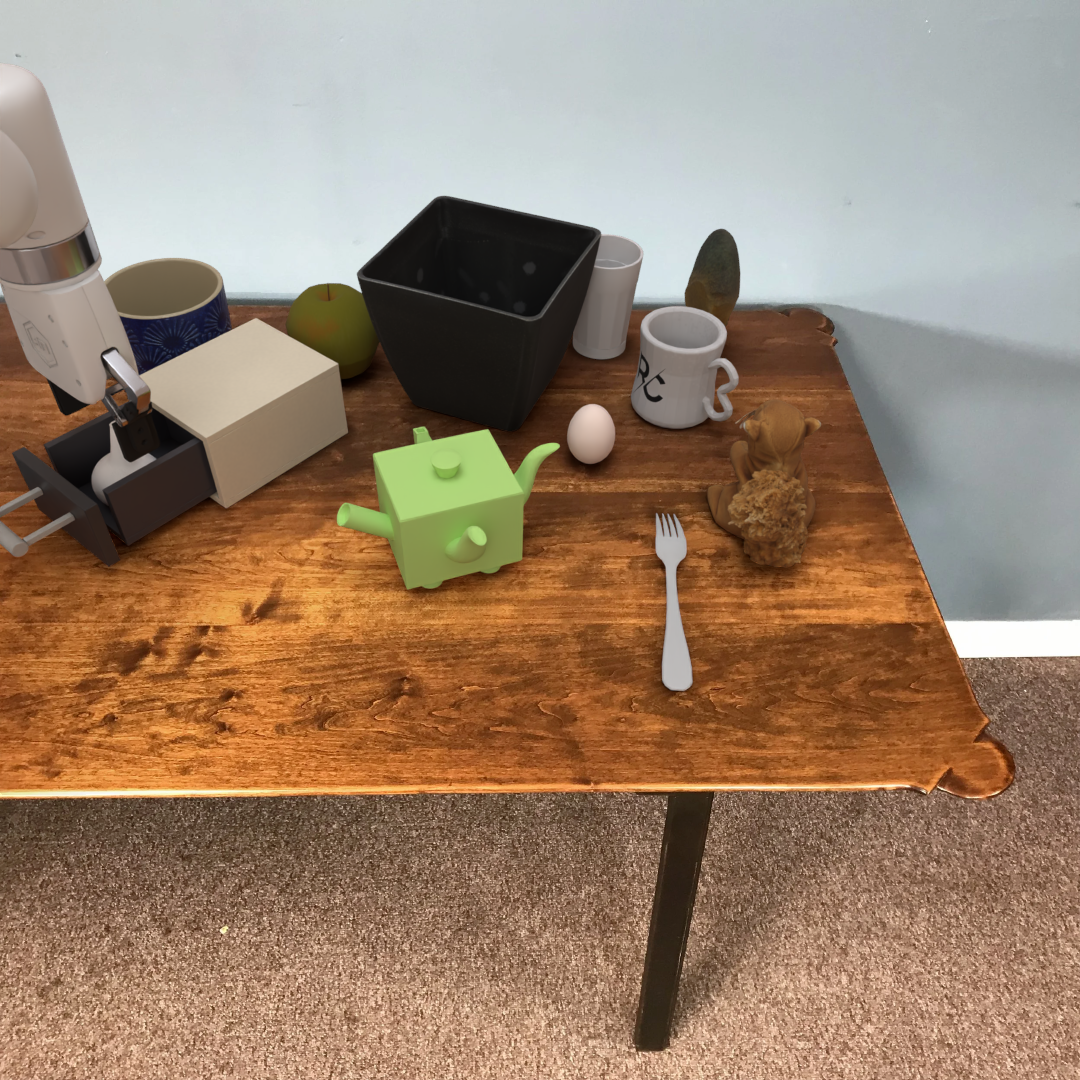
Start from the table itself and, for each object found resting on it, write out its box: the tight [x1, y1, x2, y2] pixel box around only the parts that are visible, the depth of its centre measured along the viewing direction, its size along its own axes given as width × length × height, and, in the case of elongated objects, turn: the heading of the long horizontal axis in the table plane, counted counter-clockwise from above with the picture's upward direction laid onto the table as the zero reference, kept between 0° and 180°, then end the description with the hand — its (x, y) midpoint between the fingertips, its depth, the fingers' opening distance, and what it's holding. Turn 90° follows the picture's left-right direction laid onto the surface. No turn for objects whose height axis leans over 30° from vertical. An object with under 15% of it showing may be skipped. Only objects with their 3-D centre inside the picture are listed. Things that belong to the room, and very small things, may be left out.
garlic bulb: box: [92, 421, 156, 506], centre depth 83 cm, size 6×6×8 cm
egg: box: [566, 403, 616, 465], centre depth 92 cm, size 5×5×7 cm
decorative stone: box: [684, 228, 741, 327], centre depth 104 cm, size 10×6×15 cm, turn 169°
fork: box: [655, 512, 694, 692], centre depth 81 cm, size 3×21×3 cm, turn 177°
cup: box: [572, 233, 644, 360], centre depth 106 cm, size 8×8×12 cm
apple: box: [284, 282, 380, 380], centre depth 101 cm, size 10×10×11 cm
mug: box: [630, 305, 740, 430], centre depth 97 cm, size 12×9×10 cm
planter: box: [104, 257, 233, 375], centre depth 99 cm, size 12×12×11 cm
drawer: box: [0, 400, 217, 568], centre depth 83 cm, size 20×11×7 cm, turn 141°
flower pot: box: [356, 195, 602, 433], centre depth 97 cm, size 19×19×17 cm
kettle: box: [336, 426, 561, 591], centre depth 81 cm, size 15×14×11 cm
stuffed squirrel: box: [706, 399, 822, 568], centre depth 83 cm, size 10×14×13 cm
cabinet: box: [139, 317, 349, 509], centre depth 92 cm, size 16×13×9 cm
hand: (110, 430), depth 81 cm, fingers open, 9 cm apart
